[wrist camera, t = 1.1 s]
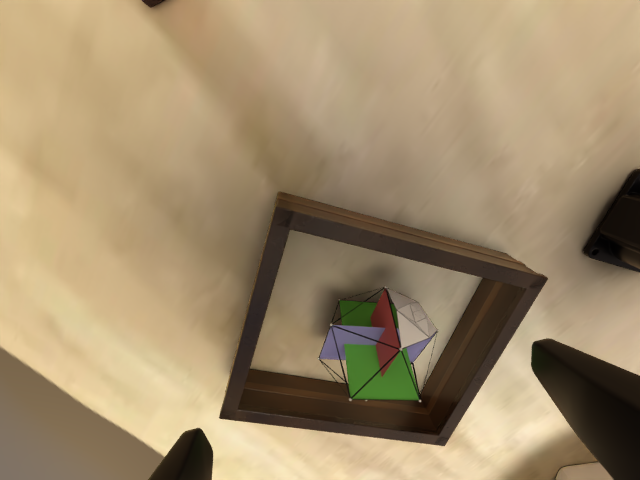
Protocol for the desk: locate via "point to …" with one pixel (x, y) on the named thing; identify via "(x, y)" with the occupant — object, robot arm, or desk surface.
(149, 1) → the chocolate bar
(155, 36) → the desk surface
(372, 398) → the geometric puzzle
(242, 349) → the square wooden frame
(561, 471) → the ribbed cylinder on disc
